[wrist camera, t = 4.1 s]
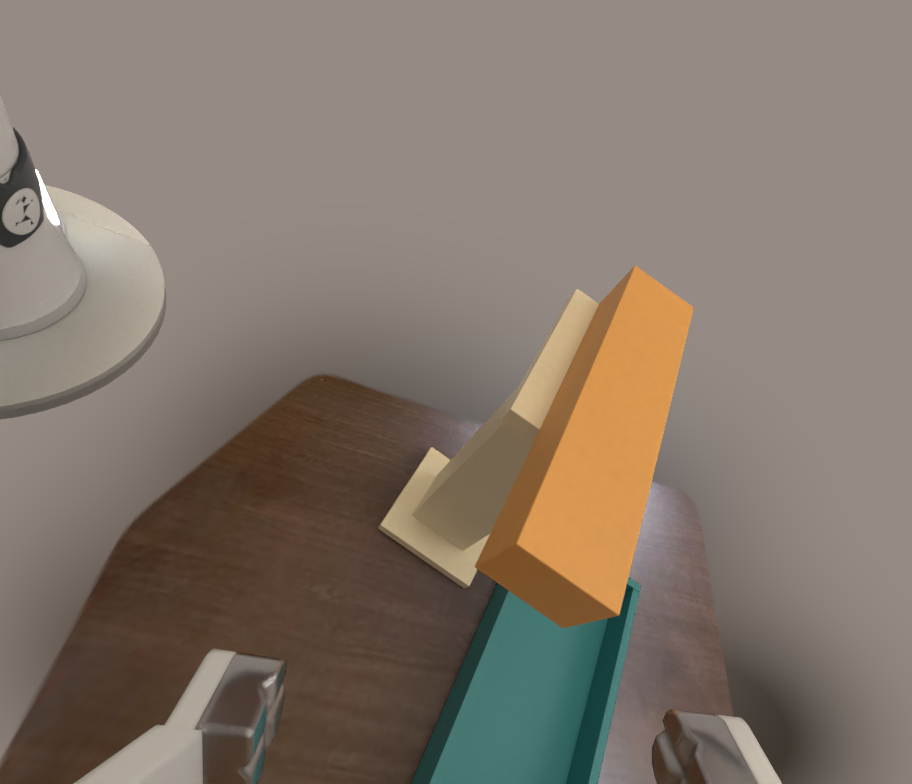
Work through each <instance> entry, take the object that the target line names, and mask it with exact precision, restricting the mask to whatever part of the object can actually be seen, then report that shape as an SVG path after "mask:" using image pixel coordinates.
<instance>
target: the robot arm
mask: <svg viewBox="0 0 912 784" xmlns="http://www.w3.org/2000/svg"><path fill="white" fill-rule="evenodd" d="M86 284H87V275H86V270H85V267H84V265H83V263H82V261H81V259H80V258H79V256H78V255H77V254H76V252H75V251H74V249H73V248H72V247H71V245H70V243H69V242H68V236H67V229H66V226H65V224H64V222H63V220H62V218H61V217H60V216H59V215H57V214H56V212H55V210H54V208H53V205H52V203H51V201H50V198H49V196H48V194H47V191H46V189H45V187H44V184H43V182H42V180H41V177H40V175H39V173H38V171H37V170H35V168H34V165H33V162H32V157H31V154H30V152H29V150H28V149H27V147H26V145H25V143H24V141H23V139H22V137H21V136H20V134H19V133H18V132H17V131H16V130H15V129H14V128H13V127H12V125H11V122H10V120H9V117H8V114H7V112H6V109H5V106H4V103H3V100H2V98H1V95H0V340H7V339H12V338H17V337H21V336H25V335H28V334H31V333H34V332H37V331H40V330H42V329H44V328H46V327H48V326H50V325H52V324H54V323H56V322H58V321H59V320H61V319H62V318H63V317H65V316H66V315H67V314H69V313H70V312H71V311H72V310H73V309H74V308H75V307H76V305H77V304H78V303H79V301H80V300H81V298H82V296H83V294H84V292H85V289H86ZM286 667H287V660H284V659H278V658H272V657H266V656H259V655H253V654H247V653H241V652H233V651H226V650H219V649H212V650H211V651H210V652H209V653H208V654H207V655H206V656H205V658H204V660H203V661H202V663H201V665H200V666H199V668H198V670H197V671H196V673H195V675H194V676H193V678H192V680H191V681H190V683H189V685H188V686H187V688H186V690H185V691H184V693H183V695H182V696H181V698H180V700H179V702H178V703H177V705H176V707H175V708H174V710H173V712H172V713H171V715H170V717H169V718H168V720H167V722H166V723H165V725H155V726H154V727H152V728H151V729H150V730H148V731H147V732H145V733H144V734H143V735H141V736H140V737H138V738H137V739H136V740H134V741H133V742H131V743H130V744H129V745H127V746H126V747H124V748H123V749H122V750H120V751H119V752H117V753H116V754H114V755H113V756H112V757H110V758H109V759H107V760H106V761H105V762H103V763H102V764H100V765H99V766H98V767H96V768H95V769H93V770H92V771H91V772H89V773H88V774H86V775H85V776H84V777H82V778H81V779H79V780H78V781H76V782H75V783H74V784H257V783H258V780H259V778H260V775H261V772H262V770H263V767H264V758H265V748H266V747H267V746H268V745H269V744H270V743H272V742H273V739H274V737H275V734H276V731H277V728H278V725H279V721H280V718H281V714H282V710H283V705H284V699H285V687H284V686H283V685H282V682H283V680H284V677H285V675H286ZM663 724H664V726H665V729H666V730H664V731H663V732H661V733H660V734H658V735H657V736H656V738H655V741H654V744H653V746H652V766H653V771H654V776H655V779H656V782H657V784H782V783H781V781H780V780H779V778H778V776H777V774H776V773H775V771H774V769H773V768H772V766H771V764H770V762H769V761H768V759H767V757H766V755H765V754H764V752H763V750H762V748H761V747H760V745H759V743H758V742H757V740H756V738H755V736H754V735H753V733H752V731H751V729H750V728H749V726H748V724H747V723H746V722H745V721H744V720H743V719H742V718H738V717H730V716H722V715H715V714H711V713H702V712H693V711H684V710H676V709H671V710H669V711H668V712H666V714H665V716H664V719H663Z"/></svg>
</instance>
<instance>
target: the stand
mask: <svg viewBox="0 0 912 784" xmlns="http://www.w3.org/2000/svg"><path fill="white" fill-rule="evenodd" d="M598 306H599V304H598V303H597V302H595V301H594V300H593V299H591V298H590V297H588V296H587V295H586V294H584V293H583V292H581V291H580V290H578V289H576V290H575V291H574V292H573V294H572V295H571V296H570V298H568V300H567V301H566V303H565V305H564V307H563V308H562V310H561V312H560V314H559V315H558V318H557V319H556V321H555V323H554V324H553V326H552V328H551V330H550V332H549V333H548V335H547V337H546V339H545V340H544V343H543V344H542V346H541V348H540V349H539V351H538V353H537V355H536V357H535V359H534V360H533V362H532V364H531V366H530V367H529V369H528V371H527V373H526V374H525V376H524V378H523V380H522V382H521V383H520V385H519V387H518V388H517V389H516V390H515V391H514V392H513V394H512V395H511V396H510V397H509V398H508V399H507V400H506V401H505V402H504V403H503V404H502V405H501V406H500V408H499V409H498V410H497V411H496V412H495V413H494V414H493V415H492V416H491V417H490V418H489V419H488V420H487V422H486V423H485V424H484V425H483V426H482V427H481V428H480V429H479V430H478V431H477V432H476V433H475V434H474V436H473V437H472V438H471V439H470V440H469V441H468V442H467V443H466V444H465V445H464V446H463V447H462V448H461V450H460V451H459V452H458V453H457V454H456V455H455V456H454V457H453V458H452V459H451V460H450V459H448V458H447V457H445V456H444V455H442V454H441V453H440V452H438V451H437V450H435V449H434V448H432V447H431V448H430V449H429V451H428V452H427V453H426V455H425V457H424V458H423V460H422V461H421V463H420V464H419V466H418V467H417V469H416V470H415V472H414V473H413V475H412V476H411V478H410V479H409V481H408V482H407V484H406V485H405V487H404V488H403V490H402V491H401V493H400V495H399V496H398V498H397V499H396V501H395V502H394V504H393V505H392V507H391V508H390V510H389V511H388V513H387V514H386V516H385V517H384V519H383V520H382V522H381V523H380V525H379V526H378V529H379V530H381V531H382V532H383V533H385V534H386V535H388V536H389V537H391V538H392V539H393V540H395V541H396V542H398V543H399V544H401V545H402V546H404V547H405V548H406V549H408V550H409V551H411V552H412V553H414V554H415V555H417V556H418V557H419V558H421V559H422V560H424V561H425V562H427V563H428V564H429V565H431V566H432V567H434V568H435V569H437V570H438V571H440V572H441V573H442V574H444V575H445V576H447V577H448V578H450V579H451V580H453V581H454V582H455V583H457V584H458V585H460V586H461V587H463V588H464V589H465V588H467V587H469V586H470V584H471V582H472V580H473V578H474V576H475V574H476V572H477V568H475V565H476V562H477V560H478V558H479V556H480V554H481V552H482V550H483V548H484V546H485V543H486V541H487V539H488V537H489V535H490V533H491V531H492V529H493V527H494V525H495V522H496V520H497V518H498V516H499V514H500V512H501V510H502V508H503V506H504V503H505V501H506V499H507V497H508V495H509V493H510V491H511V489H512V487H513V485H514V482H515V480H516V478H517V476H518V474H519V472H520V470H521V468H522V466H523V464H524V461H525V459H526V457H527V455H528V453H529V451H530V449H531V447H532V445H533V442H534V440H535V438H536V436H537V434H538V432H539V430H540V428H541V426H542V424H543V421H544V419H545V417H546V415H547V413H548V411H549V409H550V407H551V405H552V403H553V400H554V398H555V396H556V394H557V392H558V390H559V388H560V386H561V384H562V381H563V379H564V377H565V375H566V373H567V371H568V369H569V367H570V365H571V363H572V360H573V358H574V356H575V354H576V352H577V350H578V348H579V346H580V344H581V341H582V339H583V337H584V335H585V333H586V331H587V329H588V327H589V325H590V323H591V320H592V318H593V316H594V314H595V312H596V310H597V308H598Z"/></svg>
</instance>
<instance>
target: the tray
mask: <svg viewBox="0 0 912 784" xmlns="http://www.w3.org/2000/svg"><path fill="white" fill-rule="evenodd" d="M640 588H641V585H639V584H638V583H636V582H635V581H634V580H632V579H631V578H629V577H628V581H627V585H626V590H625V594H624V598H623V602H622V606H621V610H620V614H619V616H615V617H611V618H606V619H602V620H598V621H593V622H589V623H584V624H580V625H576V626H571V627H567V628H562V627H560V626H559V625H557V624H556V623H554V622H553V621H552V620H550V619H549V618H547V617H546V616H544V615H543V614H542V613H540V612H539V611H537V610H536V609H534V608H533V607H531V606H530V605H529V604H527V603H526V602H524V601H523V600H521V599H520V598H519V597H517V596H516V595H514V594H513V593H511V592H510V591H508V590H507V589H506V588H504V587H503V586H501V585H500V584H498V583H497V586H496V588H495V590H494V593H493V595H492V597H491V600H490V602H489V604H488V606H487V609H486V611H485V613H484V616H483V618H482V620H481V623H480V625H479V627H478V630H477V632H476V634H475V637H474V639H473V641H472V644H471V646H470V648H469V651H468V653H467V655H466V658H465V660H464V662H463V665H462V667H461V669H460V672H459V674H458V676H457V679H456V681H455V683H454V685H453V688H452V690H451V692H450V695H449V697H448V699H447V702H446V704H445V706H444V709H443V711H442V713H441V716H440V718H439V720H438V723H437V725H436V727H435V730H434V732H433V734H432V737H431V739H430V741H429V744H428V746H427V748H426V751H425V753H424V755H423V758H422V760H421V762H420V765H419V767H418V769H417V771H416V774H415V776H414V778H413V781H412V783H411V784H598V779H599V775H600V770H601V765H602V761H603V756H604V752H605V747H606V743H607V738H608V734H609V729H610V725H611V720H612V716H613V711H614V706H615V702H616V697H617V693H618V688H619V684H620V679H621V675H622V670H623V666H624V661H625V657H626V652H627V647H628V643H629V638H630V634H631V629H632V625H633V620H634V616H635V611H636V607H637V602H638V598H639V592H640Z"/></svg>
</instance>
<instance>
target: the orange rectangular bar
mask: <svg viewBox="0 0 912 784" xmlns="http://www.w3.org/2000/svg"><path fill="white" fill-rule="evenodd" d="M692 312H693V307H692V306H691V305H689V304H688V303H686V302H685V301H684V300H682V299H681V298H680V297H678V296H677V295H675V294H674V293H673V292H671V291H670V290H668V289H667V288H666V287H664V286H663V285H661V284H660V283H659V282H657V281H656V280H655V279H653V278H651V277H650V276H649V275H648V274H646V273H645V272H643V271H642V270H641V269H639V268H638V267H636V266H634V267H633V268H632V270H631V271H630V272H629V273H628V274H627V275H626V276H625V277H624V278H623V279H622V280H621V281H620V282H619V283H618V284H617V285H616V287H615V288H614V289H613V290H612V291H611V292H610V293H609V294H608V295H607V296H606V297H605V298H604V300H602V302H601V303H600V304H599V306H598V308H597V310H596V312H595V314H594V316H593V318H592V320H591V323H590V325H589V327H588V329H587V331H586V333H585V335H584V337H583V339H582V341H581V344H580V346H579V348H578V350H577V352H576V354H575V356H574V358H573V360H572V363H571V365H570V367H569V369H568V371H567V373H566V375H565V377H564V379H563V381H562V384H561V386H560V388H559V390H558V392H557V394H556V396H555V398H554V400H553V403H552V405H551V407H550V409H549V411H548V413H547V415H546V417H545V419H544V421H543V424H542V426H541V428H540V430H539V432H538V434H537V436H536V438H535V440H534V442H533V445H532V447H531V449H530V451H529V453H528V455H527V457H526V459H525V461H524V464H523V466H522V468H521V470H520V472H519V474H518V476H517V478H516V480H515V482H514V485H513V487H512V489H511V491H510V493H509V495H508V497H507V499H506V501H505V503H504V506H503V508H502V510H501V512H500V514H499V516H498V518H497V520H496V522H495V525H494V527H493V529H492V531H491V533H490V535H489V537H488V539H487V541H486V543H485V546H484V548H483V550H482V552H481V554H480V556H479V558H478V560H477V562H476V565H475V568H477V569H478V570H480V571H481V572H483V573H484V574H485V575H487V576H488V577H490V578H491V579H493V580H494V581H496V582H497V583H498V584H500V585H501V586H503V587H504V588H506V589H507V590H508V591H510V592H511V593H513V594H514V595H516V596H517V597H519V598H520V599H521V600H523V601H524V602H526V603H527V604H529V605H530V606H531V607H533V608H534V609H536V610H537V611H539V612H540V613H542V614H543V615H544V616H546V617H547V618H549V619H550V620H552V621H553V622H554V623H556V624H557V625H559V626H560V627H562V628H567V627H571V626H576V625H580V624H584V623H589V622H593V621H598V620H602V619H606V618H611V617H615V616H619V614H620V610H621V606H622V602H623V598H624V594H625V590H626V585H627V581H628V577H629V573H630V569H631V565H632V561H633V557H634V552H635V548H636V544H637V540H638V536H639V532H640V528H641V523H642V519H643V515H644V511H645V507H646V503H647V499H648V494H649V490H650V486H651V482H652V478H653V473H654V470H655V465H656V461H657V457H658V453H659V449H660V445H661V441H662V436H663V432H664V428H665V424H666V420H667V416H668V412H669V407H670V403H671V399H672V395H673V391H674V387H675V383H676V378H677V374H678V370H679V366H680V362H681V358H682V354H683V350H684V345H685V341H686V337H687V333H688V329H689V325H690V321H691V316H692Z"/></svg>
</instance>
